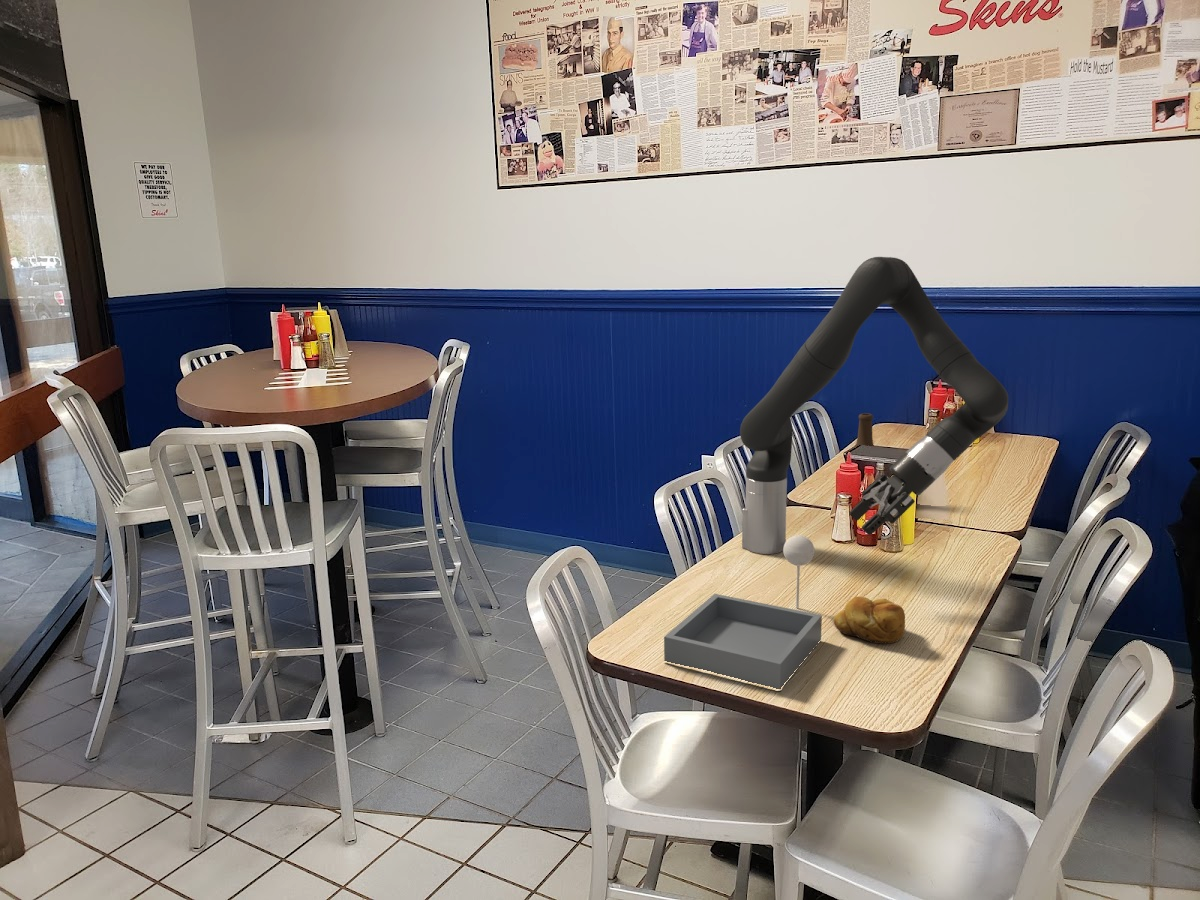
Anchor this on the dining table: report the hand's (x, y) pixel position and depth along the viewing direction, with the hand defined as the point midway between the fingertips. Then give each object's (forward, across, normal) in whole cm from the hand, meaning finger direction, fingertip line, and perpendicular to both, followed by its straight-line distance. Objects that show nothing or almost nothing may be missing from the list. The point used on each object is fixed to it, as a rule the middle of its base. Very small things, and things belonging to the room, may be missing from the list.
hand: (858, 524), depth 172 cm
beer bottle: (-3, -67, +27) cm, 72 cm away
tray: (+30, +18, -6) cm, 35 cm away
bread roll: (+13, +12, +12) cm, 21 cm away
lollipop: (+20, 0, +4) cm, 21 cm away
